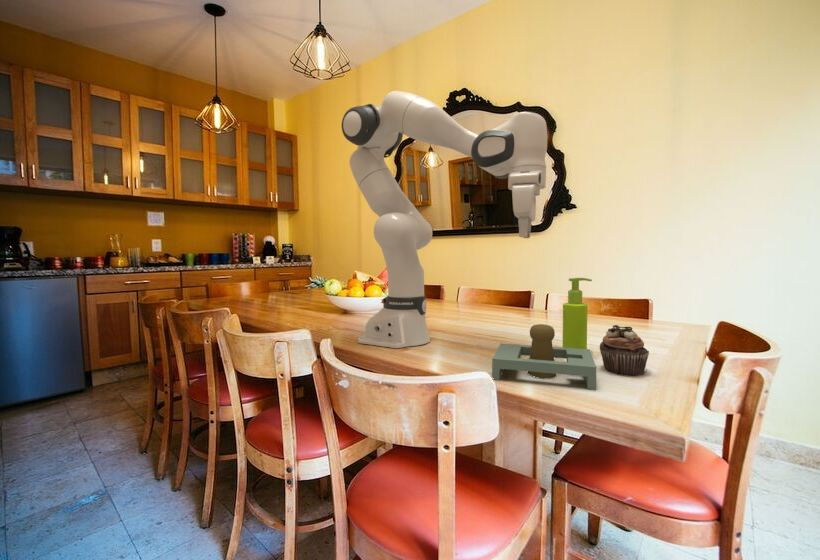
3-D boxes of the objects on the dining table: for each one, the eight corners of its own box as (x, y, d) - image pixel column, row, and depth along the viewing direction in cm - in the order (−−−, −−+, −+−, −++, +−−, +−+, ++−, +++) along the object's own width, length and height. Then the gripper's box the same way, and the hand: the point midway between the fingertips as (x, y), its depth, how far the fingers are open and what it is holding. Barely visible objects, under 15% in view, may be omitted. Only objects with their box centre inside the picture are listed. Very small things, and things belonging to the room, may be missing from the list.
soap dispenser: (594, 356, 96) (596, 278, 94) (567, 356, 96) (568, 278, 94) (584, 350, 102) (585, 276, 100) (559, 350, 102) (559, 277, 100)
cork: (558, 379, 79) (559, 328, 79) (529, 377, 81) (529, 327, 80) (553, 370, 85) (554, 322, 84) (526, 369, 86) (526, 322, 86)
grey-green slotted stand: (492, 379, 80) (492, 358, 80) (500, 361, 93) (500, 343, 93) (596, 389, 73) (596, 367, 73) (589, 368, 86) (589, 349, 86)
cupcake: (650, 380, 78) (651, 332, 77) (598, 373, 83) (598, 328, 82) (647, 367, 86) (648, 324, 85) (600, 362, 91) (600, 321, 90)
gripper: (517, 188, 103) (516, 238, 104) (508, 174, 84) (506, 236, 85) (541, 187, 101) (539, 238, 102) (538, 172, 82) (535, 236, 83)
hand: (524, 237), depth 93 cm, fingers open, 8 cm apart
